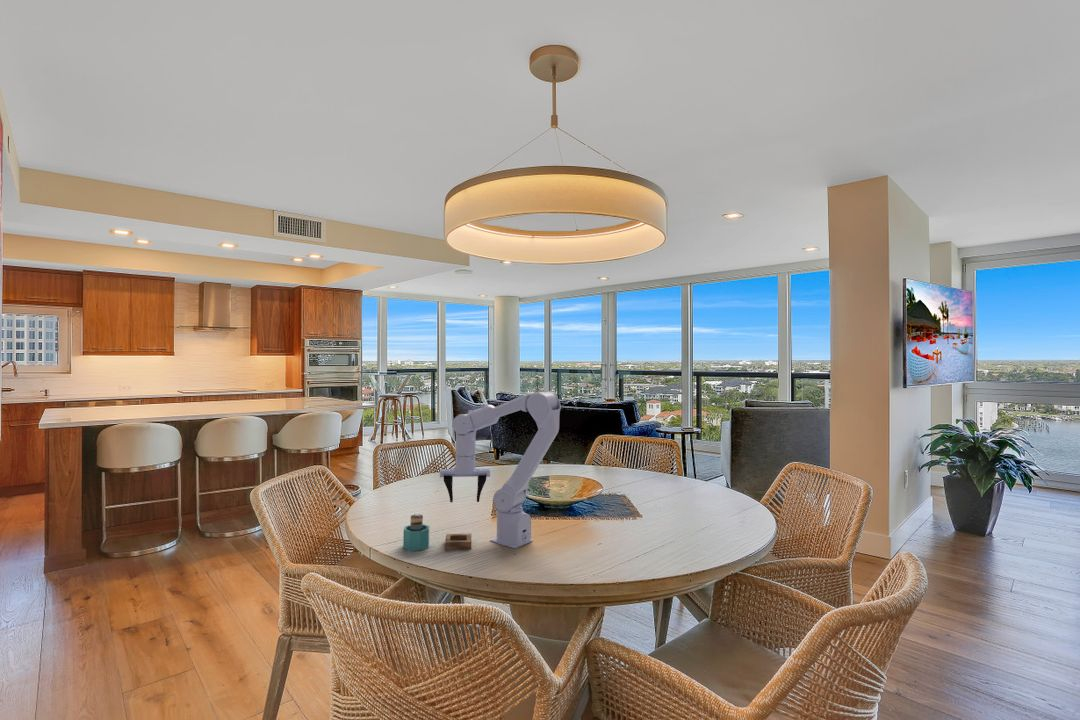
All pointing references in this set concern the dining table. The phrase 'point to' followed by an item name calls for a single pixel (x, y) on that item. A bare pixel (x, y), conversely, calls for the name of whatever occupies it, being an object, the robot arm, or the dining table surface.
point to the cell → (416, 522)
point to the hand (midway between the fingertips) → (464, 501)
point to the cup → (416, 538)
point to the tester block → (458, 541)
